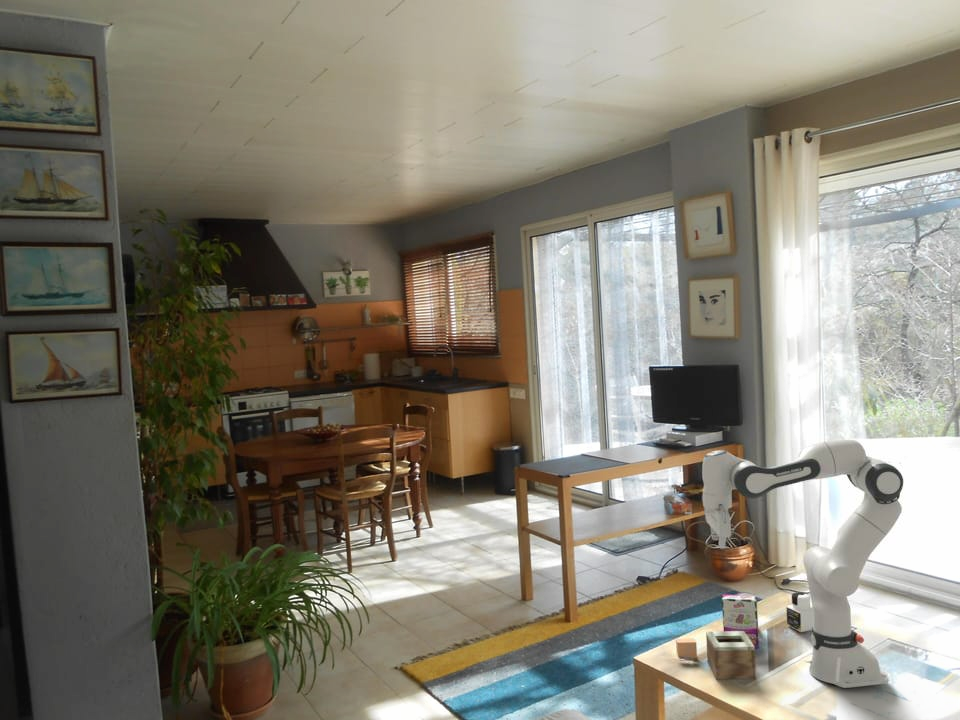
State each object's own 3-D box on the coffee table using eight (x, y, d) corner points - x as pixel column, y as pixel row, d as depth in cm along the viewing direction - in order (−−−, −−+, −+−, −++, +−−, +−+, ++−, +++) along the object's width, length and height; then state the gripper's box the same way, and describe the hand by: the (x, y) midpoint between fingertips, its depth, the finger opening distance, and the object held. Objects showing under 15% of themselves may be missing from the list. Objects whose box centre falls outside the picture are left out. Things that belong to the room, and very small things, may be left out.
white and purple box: (760, 635, 259) (758, 598, 259) (738, 635, 261) (736, 598, 260) (756, 627, 266) (755, 591, 266) (735, 626, 268) (734, 591, 267)
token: (695, 656, 246) (694, 638, 246) (697, 660, 243) (696, 642, 243) (676, 656, 247) (676, 638, 246) (678, 660, 244) (677, 642, 243)
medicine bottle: (786, 625, 267) (785, 592, 266) (803, 622, 269) (801, 589, 268) (800, 632, 260) (799, 598, 259) (817, 629, 262) (816, 595, 262)
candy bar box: (758, 642, 253) (756, 595, 253) (759, 649, 249) (757, 600, 248) (724, 640, 257) (722, 593, 257) (723, 646, 252) (721, 598, 252)
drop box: (745, 661, 240) (744, 631, 240) (755, 678, 228) (754, 646, 228) (707, 662, 241) (706, 631, 241) (715, 679, 229) (714, 647, 229)
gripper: (735, 508, 228) (736, 553, 229) (720, 494, 248) (721, 535, 249) (714, 509, 229) (715, 553, 229) (700, 494, 249) (701, 535, 250)
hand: (718, 543), depth 239 cm, fingers open, 8 cm apart
